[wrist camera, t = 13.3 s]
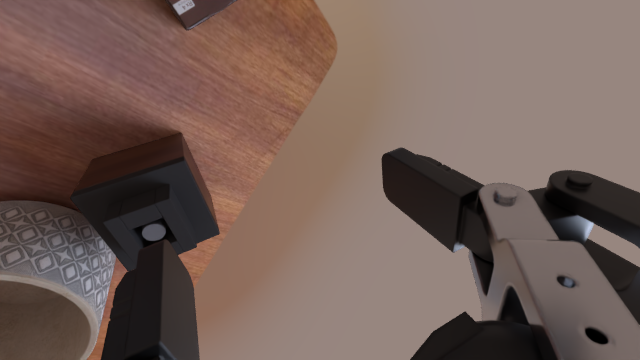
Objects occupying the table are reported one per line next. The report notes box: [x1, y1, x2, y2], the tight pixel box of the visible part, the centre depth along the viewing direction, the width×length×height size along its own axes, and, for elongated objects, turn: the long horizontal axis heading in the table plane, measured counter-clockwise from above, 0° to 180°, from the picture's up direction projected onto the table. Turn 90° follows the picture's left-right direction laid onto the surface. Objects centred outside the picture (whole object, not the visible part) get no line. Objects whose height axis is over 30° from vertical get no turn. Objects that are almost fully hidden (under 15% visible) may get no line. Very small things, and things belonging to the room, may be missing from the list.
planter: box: [0, 201, 116, 360], centre depth 30 cm, size 16×16×13 cm
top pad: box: [103, 184, 197, 266], centre depth 28 cm, size 6×6×3 cm
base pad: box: [70, 157, 220, 271], centre depth 29 cm, size 10×10×4 cm
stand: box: [74, 133, 218, 226], centre depth 34 cm, size 10×10×8 cm
